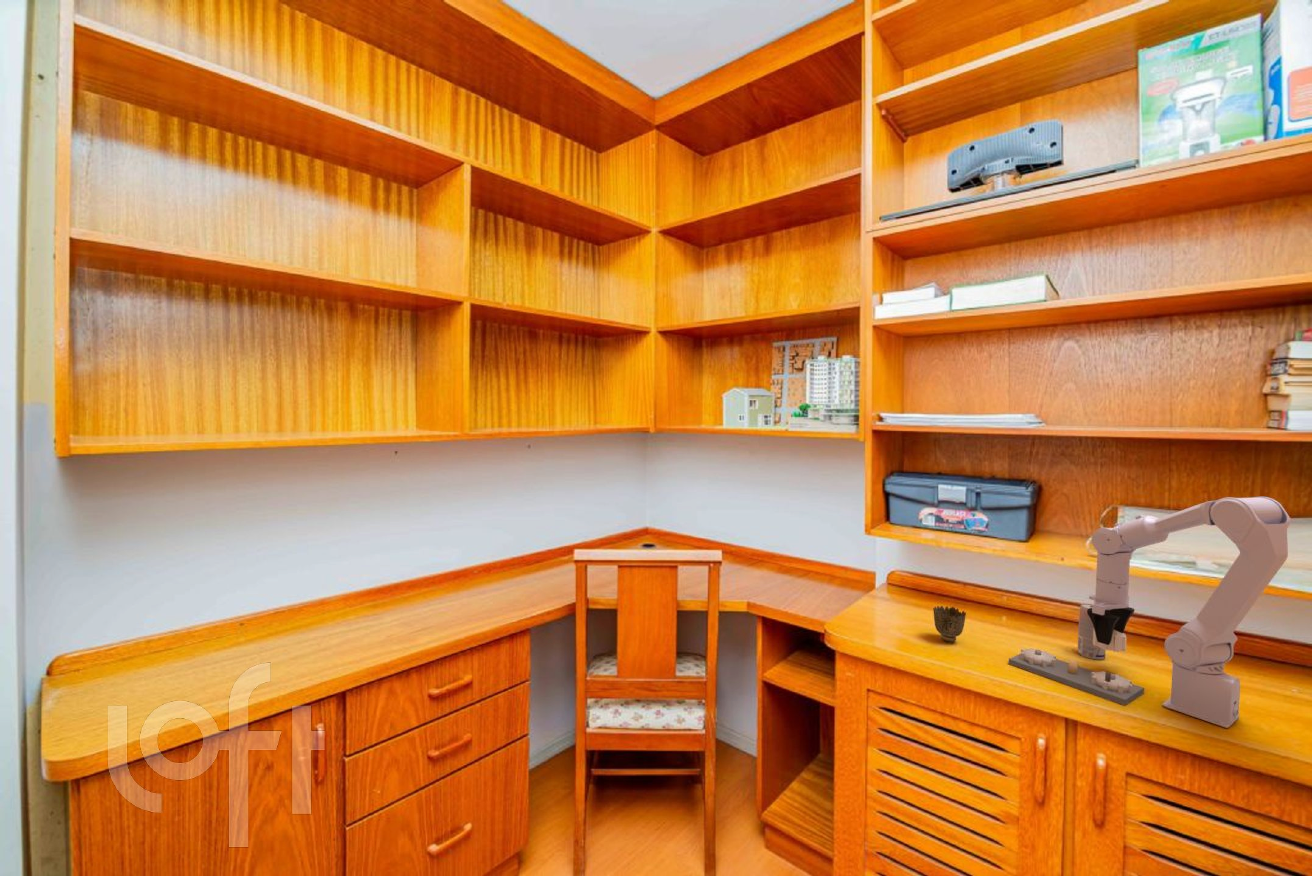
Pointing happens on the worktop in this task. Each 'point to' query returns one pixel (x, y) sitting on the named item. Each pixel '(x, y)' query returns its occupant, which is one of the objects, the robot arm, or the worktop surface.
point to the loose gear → (1112, 642)
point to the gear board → (1078, 676)
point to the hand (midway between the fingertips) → (1109, 640)
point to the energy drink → (1087, 636)
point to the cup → (949, 622)
